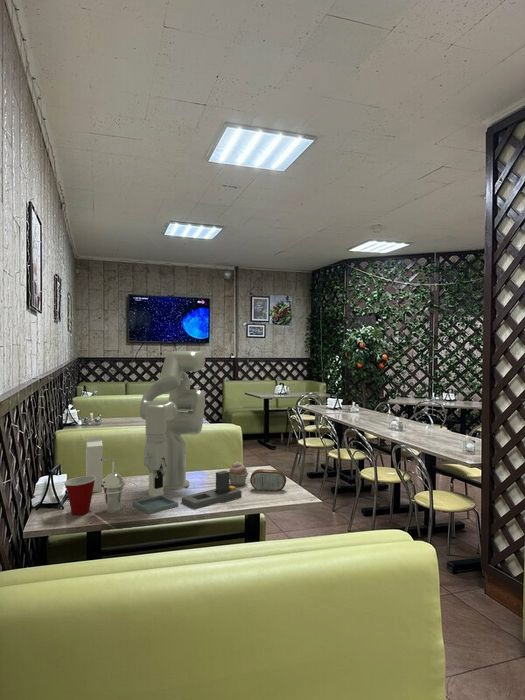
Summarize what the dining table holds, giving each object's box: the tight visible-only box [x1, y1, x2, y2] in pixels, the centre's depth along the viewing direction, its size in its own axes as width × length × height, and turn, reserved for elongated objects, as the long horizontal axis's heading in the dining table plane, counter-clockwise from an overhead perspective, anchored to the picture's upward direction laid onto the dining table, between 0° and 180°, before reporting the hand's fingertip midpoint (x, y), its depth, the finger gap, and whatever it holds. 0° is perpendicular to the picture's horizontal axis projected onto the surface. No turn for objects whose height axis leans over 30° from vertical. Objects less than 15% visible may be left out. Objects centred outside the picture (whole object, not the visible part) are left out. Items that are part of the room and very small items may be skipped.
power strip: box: [181, 485, 242, 510], centre depth 175 cm, size 9×22×3 cm, turn 132°
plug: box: [148, 467, 164, 497], centre depth 168 cm, size 3×4×10 cm
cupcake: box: [228, 460, 250, 487], centre depth 196 cm, size 9×9×10 cm
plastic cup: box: [63, 475, 96, 516], centre depth 161 cm, size 11×11×12 cm
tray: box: [132, 494, 179, 515], centre depth 167 cm, size 12×12×2 cm
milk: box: [85, 436, 104, 493], centre depth 187 cm, size 6×6×22 cm
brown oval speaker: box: [249, 468, 287, 492], centre depth 188 cm, size 15×3×8 cm, turn 84°
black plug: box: [215, 470, 230, 494], centre depth 178 cm, size 3×4×10 cm
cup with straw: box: [101, 458, 127, 513], centre depth 162 cm, size 8×9×20 cm
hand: (156, 486), depth 168 cm, fingers closed on plug, 3 cm apart
